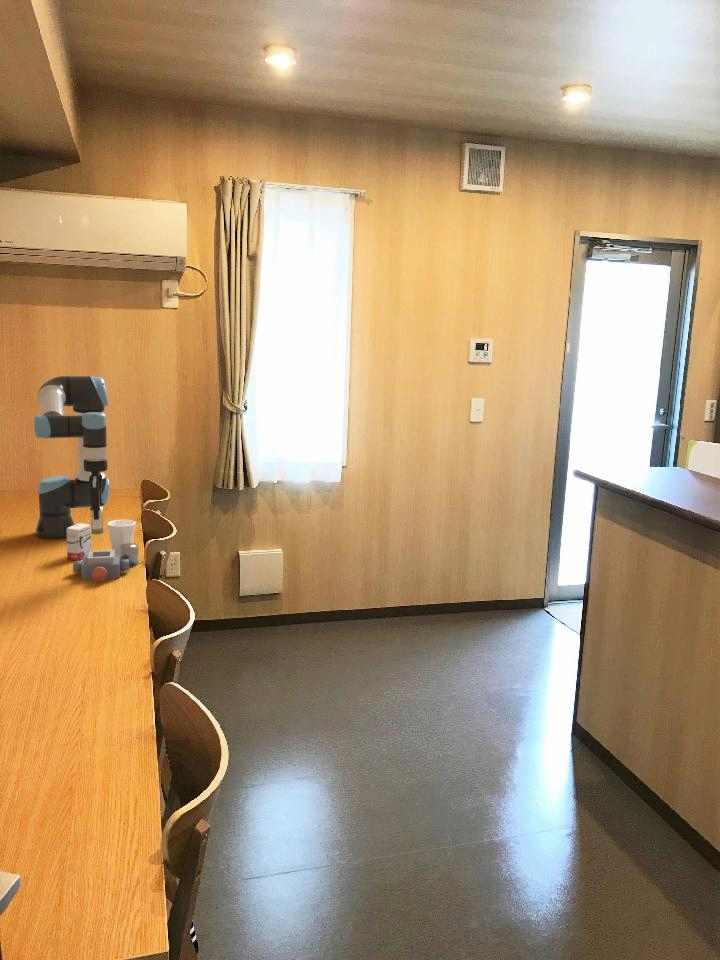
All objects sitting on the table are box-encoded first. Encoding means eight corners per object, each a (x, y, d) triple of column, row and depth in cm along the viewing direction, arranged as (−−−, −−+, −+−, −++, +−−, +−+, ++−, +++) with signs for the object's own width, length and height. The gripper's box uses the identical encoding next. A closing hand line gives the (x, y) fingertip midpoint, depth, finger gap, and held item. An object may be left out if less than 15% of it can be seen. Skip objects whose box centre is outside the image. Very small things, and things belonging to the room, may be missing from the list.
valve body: (75, 569, 248) (75, 549, 247) (129, 566, 253) (129, 547, 252) (70, 584, 233) (69, 564, 232) (128, 581, 238) (127, 561, 237)
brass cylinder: (91, 531, 243) (91, 505, 241) (104, 531, 244) (103, 505, 242) (90, 534, 239) (89, 508, 237) (103, 534, 240) (102, 508, 238)
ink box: (79, 561, 257) (77, 529, 254) (66, 559, 257) (65, 528, 255) (92, 554, 265) (91, 523, 262) (80, 552, 266) (79, 522, 263)
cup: (141, 554, 266) (141, 521, 264) (125, 562, 257) (124, 527, 255) (119, 551, 270) (118, 518, 267) (102, 558, 260) (101, 524, 258)
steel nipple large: (121, 561, 258) (121, 543, 256) (138, 561, 259) (138, 542, 258) (120, 567, 252) (120, 548, 251) (138, 566, 254) (138, 547, 252)
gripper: (86, 454, 244) (88, 520, 248) (80, 463, 227) (83, 533, 232) (109, 454, 246) (111, 519, 250) (105, 463, 229) (107, 532, 234)
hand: (97, 526), depth 241 cm, fingers closed on brass cylinder, 4 cm apart
